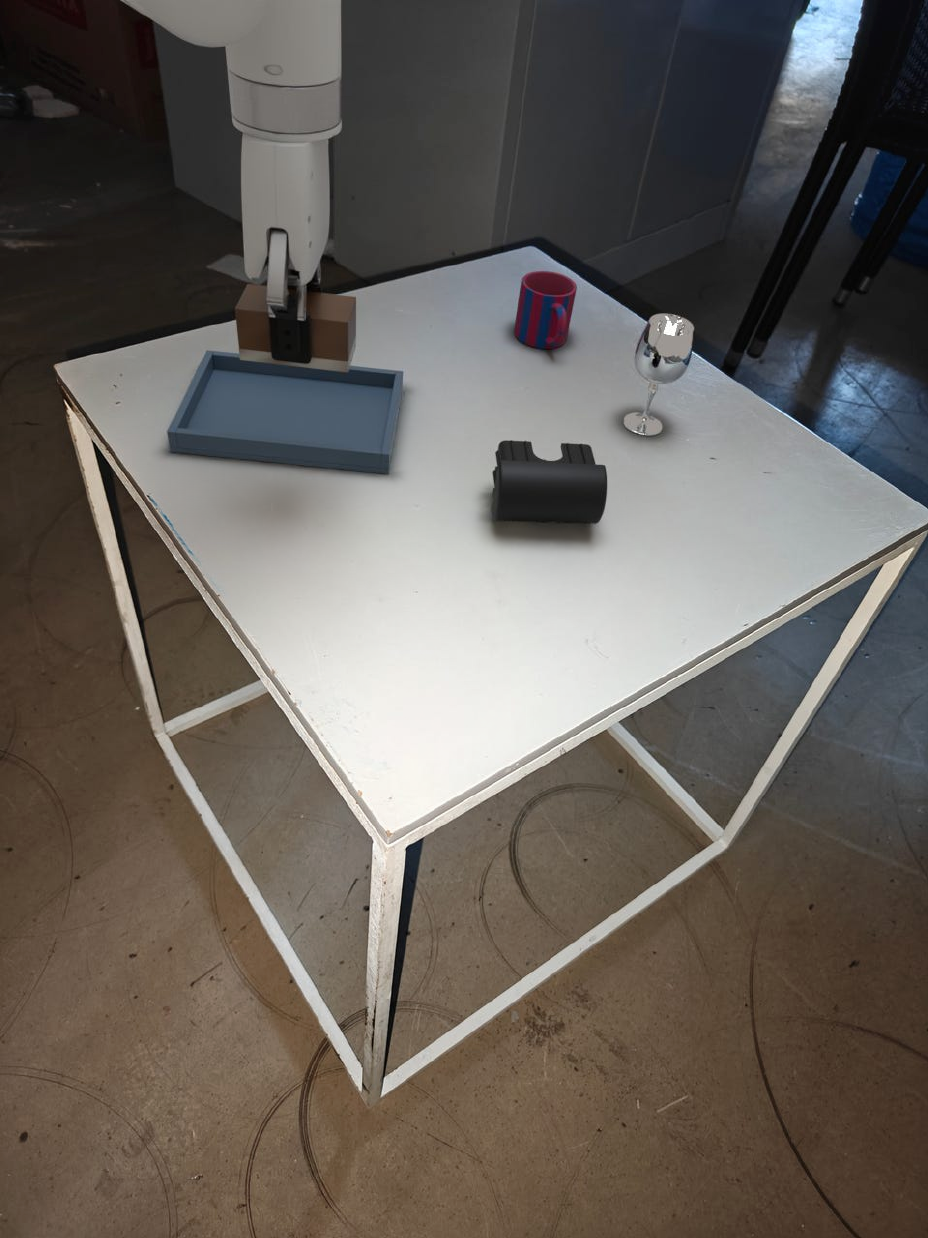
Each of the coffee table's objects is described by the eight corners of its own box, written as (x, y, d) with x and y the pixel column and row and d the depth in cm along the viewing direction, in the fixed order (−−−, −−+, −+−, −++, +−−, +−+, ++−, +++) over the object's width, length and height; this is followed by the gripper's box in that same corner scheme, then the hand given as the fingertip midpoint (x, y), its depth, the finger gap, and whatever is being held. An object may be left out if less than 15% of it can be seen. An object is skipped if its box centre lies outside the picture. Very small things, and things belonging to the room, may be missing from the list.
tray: (170, 451, 85) (166, 431, 83) (209, 369, 96) (206, 349, 94) (388, 474, 86) (389, 454, 84) (402, 389, 97) (403, 370, 95)
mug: (561, 323, 111) (571, 271, 106) (576, 364, 104) (587, 311, 99) (510, 321, 110) (518, 269, 105) (522, 362, 103) (530, 308, 98)
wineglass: (629, 441, 94) (658, 340, 85) (609, 411, 98) (634, 312, 89) (676, 436, 95) (709, 337, 87) (655, 407, 99) (684, 309, 90)
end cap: (492, 538, 81) (501, 481, 76) (486, 491, 85) (494, 434, 80) (596, 542, 82) (612, 485, 77) (585, 495, 86) (599, 439, 82)
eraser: (239, 359, 71) (234, 308, 68) (251, 333, 74) (247, 283, 71) (348, 372, 71) (348, 322, 68) (355, 346, 74) (356, 296, 71)
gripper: (259, 60, 65) (274, 293, 78) (198, 134, 53) (228, 393, 66) (358, 72, 65) (357, 302, 78) (319, 149, 53) (325, 404, 66)
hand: (297, 342), depth 72 cm, fingers closed on eraser, 4 cm apart
